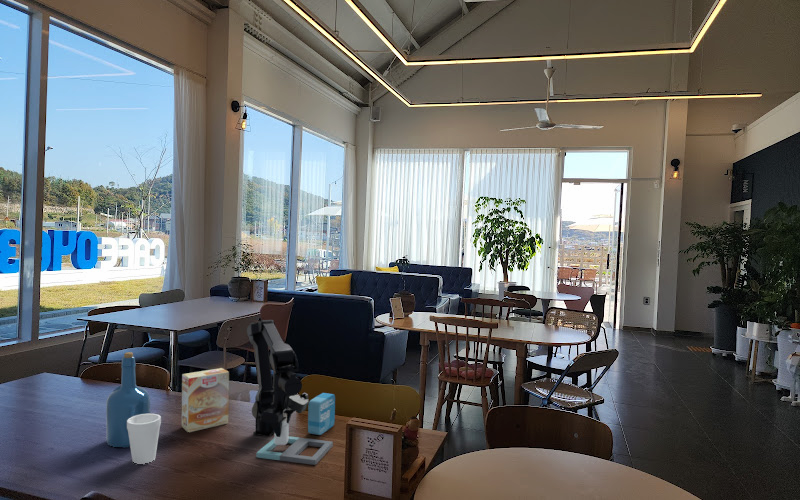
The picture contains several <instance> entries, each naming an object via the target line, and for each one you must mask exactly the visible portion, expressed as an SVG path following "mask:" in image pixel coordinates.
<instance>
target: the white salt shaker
mask: <svg viewBox="0 0 800 500" xmlns="http://www.w3.org/2000/svg"><path fill="white" fill-rule="evenodd" d="M283 417H286V419H285V420H284V421H283V422H282V429H281V435H280V437H277V436H276V434H275V433H274V437H273V439H274V443H275V445H277V446H278V445H279V446H285V445H287V444H288V443H287V442H288V440H289V435H290V430H289V429H290V423H289V424H288V423H287V414H286V413H283Z"/></svg>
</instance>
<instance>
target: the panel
mask: <svg viewBox="0 0 800 500" xmlns="http://www.w3.org/2000/svg"><path fill="white" fill-rule="evenodd" d="M287 444H291V445H290V446H289V447H288V448H286V449H285V450H284V451H283V452H280V451H279V452H277V451H273V449H275V448H276V447H277V446H278V445H275V443H274V438H273V439H271V440H270V441H269V442H267V443H266V444H265V445H264V446H262V447H261V448H260V449H259V450H258V451H256V455H255V456H256V458H260V459H267V460H276V461H283V462H290V463H297V464H305V465H306V464H307V465H313V466H316V465H317V464H318V463H319V462H320V461H321V460H322V458H324V457H325V455H326V454H327V453H328V452H329V451H330V450H331V449H332V448H333V447H334V441H331V440H321V439H314V438H306V437H298V436H297V437H296V436H291V435H290V436H289V440H288V442H287ZM308 447H318V448H319V449H318V450H317V451H316V452H315V453H314V454H313V455H312V456H310V455H308V456H307V455H301V453H302V452H304V450H305V449H306V448H308Z"/></svg>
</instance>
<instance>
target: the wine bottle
mask: <svg viewBox="0 0 800 500" xmlns="http://www.w3.org/2000/svg"><path fill="white" fill-rule="evenodd" d="M136 367H137V365H136V357H135V356H134V353H133V352H132V351H128V352H124V354H123V356H122V359H121V366H120V368H121V385H119V386H118V387H116V388H115V389H113V390H112V392H110V394H109V395H108V397H107V399H106V415H105V416H106V418H105V419H106V421H105V422H106V423H105V424H106V443H107V445H108V446H109V445H110V446H109V447H111V446H113V447H112V448H114V447H123V448H124V449H125V448H130V441H129V434H128V429H127V420H128V419H129V418H131V417H133V416H136V415H140V414H151V397H150V394H149V392H148V391H147V390H146V389H145V388H143V387H141V386H140V387H139V386H138V385H137V380H136Z"/></svg>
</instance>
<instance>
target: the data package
mask: <svg viewBox="0 0 800 500" xmlns="http://www.w3.org/2000/svg"><path fill="white" fill-rule="evenodd" d="M307 407H308V408H307V410H308V411H307V412H308V413H307V432H308V434H312V435H318V436H321V435H323V434H325V432H327V431H329V430H330V429H331V428H332V427H334V426H335V423H336V422H335V421H336V420H335V418H336V417H335V416H336V411H335V410H336V396H335V394H334V393H329V392H328V393H327V392H322V393H320V394H318V395H316V396H315V397H313V398H312V399H310V400H309V404H307Z"/></svg>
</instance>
